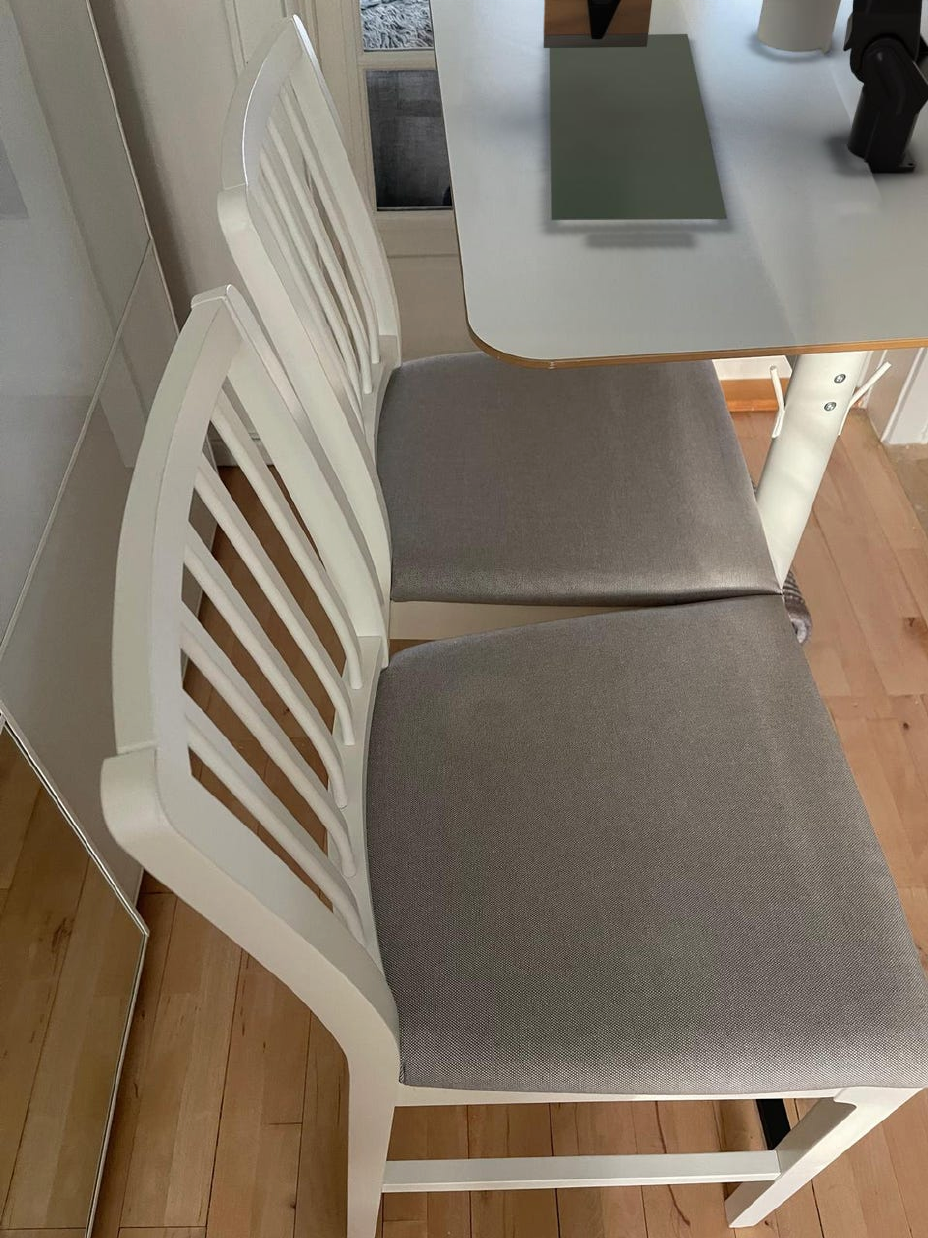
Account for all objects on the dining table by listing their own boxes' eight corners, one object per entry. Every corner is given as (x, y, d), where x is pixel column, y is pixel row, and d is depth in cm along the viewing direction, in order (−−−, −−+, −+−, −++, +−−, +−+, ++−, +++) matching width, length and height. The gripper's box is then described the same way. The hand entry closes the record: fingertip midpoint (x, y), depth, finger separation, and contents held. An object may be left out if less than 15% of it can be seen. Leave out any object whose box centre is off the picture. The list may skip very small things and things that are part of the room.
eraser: (647, 46, 95) (653, -11, 91) (543, 48, 96) (545, -10, 92) (644, 29, 97) (650, -28, 94) (543, 30, 98) (545, -26, 94)
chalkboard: (725, 228, 90) (727, 218, 89) (550, 229, 91) (551, 219, 90) (686, 42, 115) (687, 33, 114) (549, 44, 116) (549, 35, 115)
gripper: (515, -199, 90) (514, -8, 102) (513, -134, 78) (512, 73, 91) (638, -203, 89) (622, -10, 101) (654, -138, 78) (633, 71, 90)
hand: (596, 28), depth 96 cm, fingers closed on eraser, 4 cm apart
